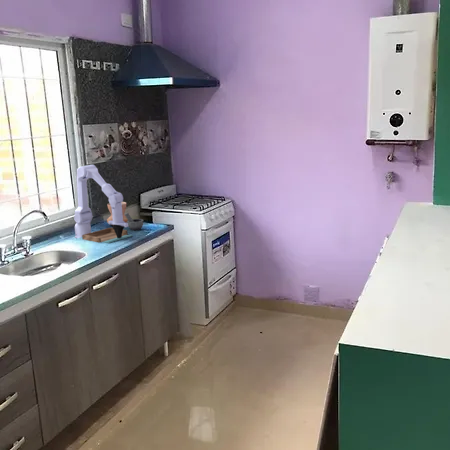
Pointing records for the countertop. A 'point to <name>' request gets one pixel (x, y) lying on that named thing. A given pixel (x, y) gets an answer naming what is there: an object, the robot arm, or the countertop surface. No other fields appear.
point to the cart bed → (102, 235)
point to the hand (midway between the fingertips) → (119, 237)
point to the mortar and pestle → (134, 222)
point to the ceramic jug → (122, 212)
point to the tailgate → (117, 239)
